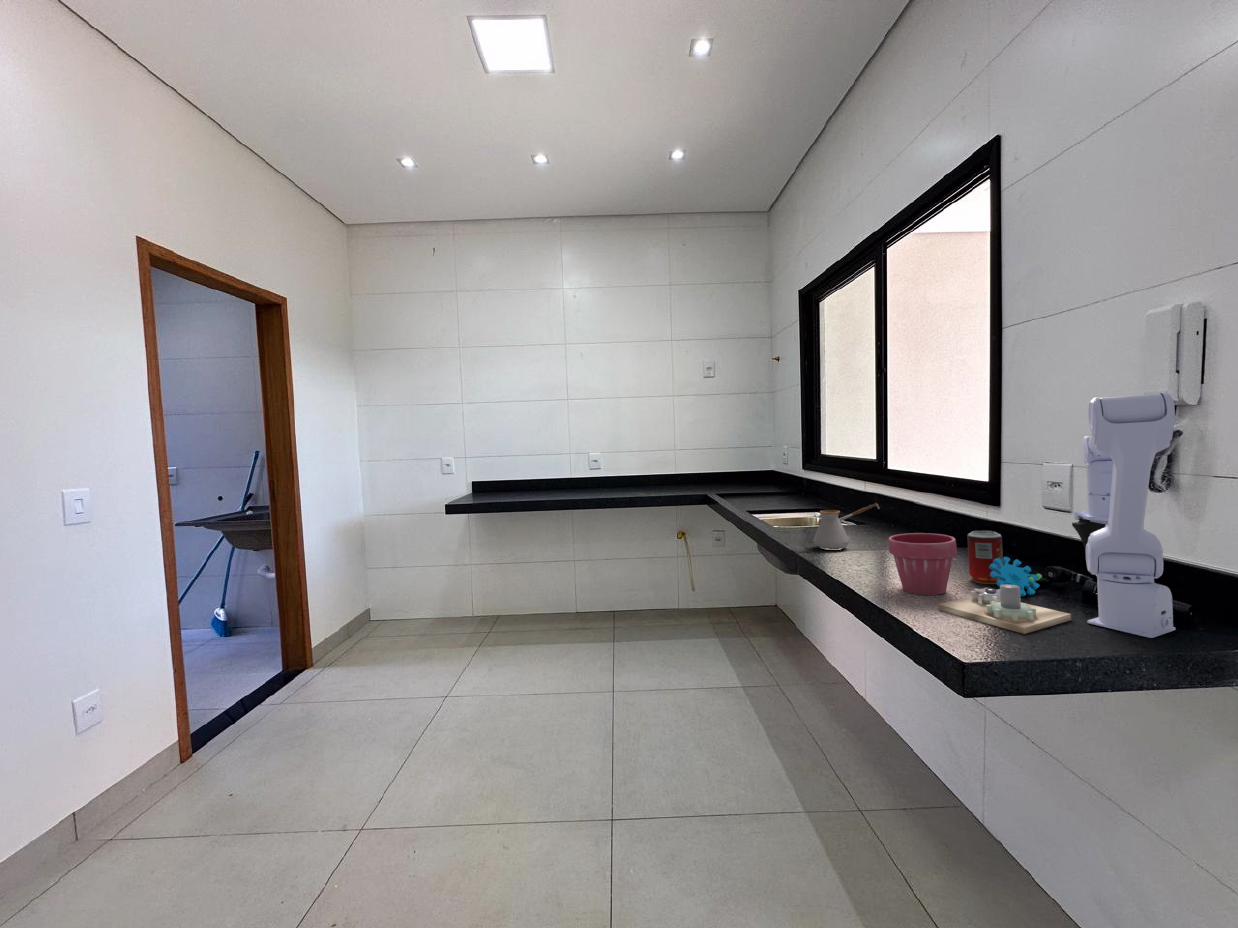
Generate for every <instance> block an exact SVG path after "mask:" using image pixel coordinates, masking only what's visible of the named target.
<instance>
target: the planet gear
mask: <svg viewBox="0 0 1238 928" xmlns="http://www.w3.org/2000/svg"><path fill="white" fill-rule="evenodd" d="M999 589H1000V601H1001V602H994V601H992V602H990V605H987V613H991V614H993V615H994V617H997V618H1007V619H1012V620H1014V621H1018V620H1024V619H1027V620H1034V619H1033V616H1034V617H1036V608H1034V607H1029V606H1027V604H1028V603H1026V604H1024V603H1025V602H1021V599H1022V598H1021V596H1020V587H1019V586H1016V585H1008V584H1004V585H1000V587H999Z"/></svg>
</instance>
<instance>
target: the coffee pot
mask: <svg viewBox="0 0 1238 928" xmlns="http://www.w3.org/2000/svg"><path fill="white" fill-rule="evenodd" d="M874 507H877V509H878V510H880V508H881V507H880V506H879V504H878V502H875V503H873V504H869V505H868V506H865V507H861V508H860V509H858V510H855V511H853V512H852V513H850V514H847V515H845V516H842V517H840V518H839V514H840V513H841V511H840V510H836V509H828V510H827V509H826V510H820V511H819V514H821V520H820V522H819V524H818V528H817V530H816V532H815V534H814V535H815V536H814V538H813V543H814V545H815V546H816V545H817V546H819V547H823V548H829V549H839V548H844V549H845V548H847V547H848V545H849V544H850V542H851V541H850V538H849V536H848V534H847V532H846V530H845V528H844V526H843V523H842V521H843V520H846V519H848V518H850V517H853V516H857V515H858V514H862V513H864V512H866V511H867V510H870V509H872V508H874ZM817 546H816V547H817ZM819 547H818V548H819Z"/></svg>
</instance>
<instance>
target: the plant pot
mask: <svg viewBox="0 0 1238 928" xmlns="http://www.w3.org/2000/svg"><path fill="white" fill-rule="evenodd" d="M956 541H957V539H956V538H955V537H954V536H950V535H947V534H942V533H941V534H940V533H931V532H930V533H929V532H928V533H925V532H913V533H912V532H911V533H900V534H894V535H891V536H889V537H888V552H889V553H890V554H891V555H893V559H894V562H895V563H894V564H895V566H896V570H897V573H898V577H899V579H900V580H899V581H900V583H901V587H902V590H903V591H905V592H908V593H910V594H915V595H923V596H936V595H942V594H945V593H946V592H947V587H948V583H949V578H950V573H951V568H952V562H953V557H955V556H956V555H957V553H958V552H957V551H958V550H957V542H956Z"/></svg>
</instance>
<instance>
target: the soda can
mask: <svg viewBox="0 0 1238 928" xmlns="http://www.w3.org/2000/svg"><path fill="white" fill-rule="evenodd" d="M966 536H967V556H968V557H967V558H968V559H967V560H968V573H969V575H970V577H971V579H972V581H973V582H974V583H978V584H984V585H997V584H996V582H997V581H998V580H1002V579H999V578H992V577H991V576H990V573H991V572H992V571H994V570H992V569H990V568H989V566H990V565H991V564H992V563H994V562H993V560H994V559H996V558H999V559H1001V564H1002V565H1004V562H1003V561H1002V559H1003V558H1004V557H1003V556H1004V555H1003V536H1002V535H1001V533H998V532H996V531H992V530H973V531H971V532H969V533H967V535H966ZM994 564H995V563H994ZM995 565H996V564H995ZM996 566H997V565H996ZM997 568H998V569H999V567H998V566H997ZM995 572H996V571H995ZM996 573H997V572H996ZM997 574H998V573H997Z"/></svg>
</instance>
